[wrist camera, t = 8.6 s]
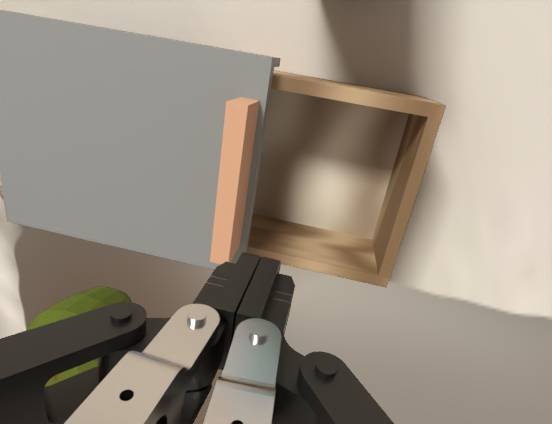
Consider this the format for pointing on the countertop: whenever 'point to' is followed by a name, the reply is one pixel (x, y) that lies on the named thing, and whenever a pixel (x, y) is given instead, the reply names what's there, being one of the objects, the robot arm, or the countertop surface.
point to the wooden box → (339, 175)
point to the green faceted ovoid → (75, 307)
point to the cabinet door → (131, 137)
